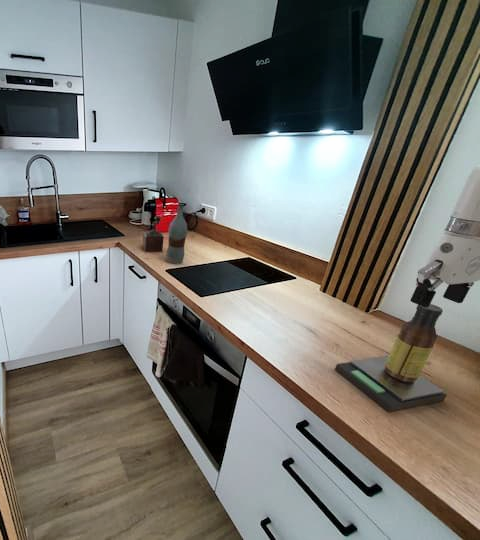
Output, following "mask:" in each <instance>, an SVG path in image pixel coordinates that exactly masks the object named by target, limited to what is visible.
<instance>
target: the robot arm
mask: <svg viewBox="0 0 480 540" xmlns="http://www.w3.org/2000/svg"><path fill="white" fill-rule="evenodd" d="M442 232H443V234H442V236H441V237H440V239H439V240H438V242H437V244H436V245H435V247H434V249H433V250H432V252H431V254H430V256H429V257H428V259H427V262H426V264H425V266H424V267H422V268H420V269H418V270H417V277H416V280H415V282H416V283H415V286H416V287H415V290H414V291H413V293H412V295H411V298H410V302H411V303H413V304H415V305H417V306H418V305H420V306H422V307H425V308H426V307H429V305H430V304H432V302H433V300H434V297H435V295H436V293H437V291H436V289H437V288H438V287H439V286H441V285H442V284H443V283H444V284H446V285H447V287H446V289H445V291H444V292H443V295H442V297H443V299H447V300H448V301H451V302H453V303H456V304H462V303H463V302H464V300H465V298H466V297H467V295H468V293H469V291H470V290H471V287H473V286H474V285H475V282H479V281H480V164H478V165H476V166H474V167H473V169H472V170H471V171H470V174H469V176H468V177H467V179H466V181H465V184H464V185H463V188H462V190H461V192H460V194H459V196H458V199H457V201H456V203H455V205H454V208H453V209H452V211H451V214H450V216H449V218H448V220H447V223H446V224H445V227H444V229H443V231H442ZM431 281H433V282H431Z"/></svg>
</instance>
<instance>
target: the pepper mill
mask: <svg viewBox="0 0 480 540" xmlns="http://www.w3.org/2000/svg"><path fill="white" fill-rule="evenodd" d="M154 220H155V221H152V223H151V226H152V229H151V230H148V231H143V232H142V249H143V250H144V252H145V253H163V252H164V250H163V249H164V238H165V237H164V235H163V234H162V231H160V230H156V229H155V228H156V227H155V226H156V225H160V224H161V222H160V221H161V220H162V217H161V216H160V215H155V216H154Z"/></svg>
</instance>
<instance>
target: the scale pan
mask: <svg viewBox="0 0 480 540" xmlns="http://www.w3.org/2000/svg"><path fill="white" fill-rule="evenodd" d="M388 357H389V354H388V355H387V354H386V355H382V356H374V357H367V358H360V359H354V360H350V361H349V362H350V364H351V365H353V366H354V367H355V368H357V369H358V370H359V371H361V372H362V373H363V374H365V375H366V376H368V377H369V378H370V379H372V380H373V381H374V382H376V383H377V384H378V385H380V386H381V387H382V388H384V389H385V390H387V391H388V392H389V393H391V394H392V395H393V396H395V397H396V398H397V399H399V400H400V401H407V400H412V399H417V398H422V397H427V396H432V395H437V394H443V393H444V394H445V391H446V390H444V389H442V388H441V387H439V386H437V385H436V384H435V383H433V382H432V381H430V380H428V379H427V378H425V377H424V376H422V375H421V374H420V375H419V377H418V378H417V380H416V381H415V382H404V381H401V380H398V379H396V378H394V377H393V376H391V375H389V374H388V373H387V372H386V370H385V365H386V362H387V359H388Z"/></svg>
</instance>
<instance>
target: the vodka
mask: <svg viewBox="0 0 480 540" xmlns="http://www.w3.org/2000/svg"><path fill="white" fill-rule="evenodd" d="M183 213H184V203H177V212H176V216H175V217H174V218H173V219H172V221H171V222H170V224H169V227H168V245H167V248H166V253H165V254H166V255H165V256H166V262H167V263H169V264H171V265H180V264H182V263H183V261H184V258H185V244H186V239H187V234H188V223H187V222H186V219H185V217H184V214H183Z"/></svg>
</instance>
